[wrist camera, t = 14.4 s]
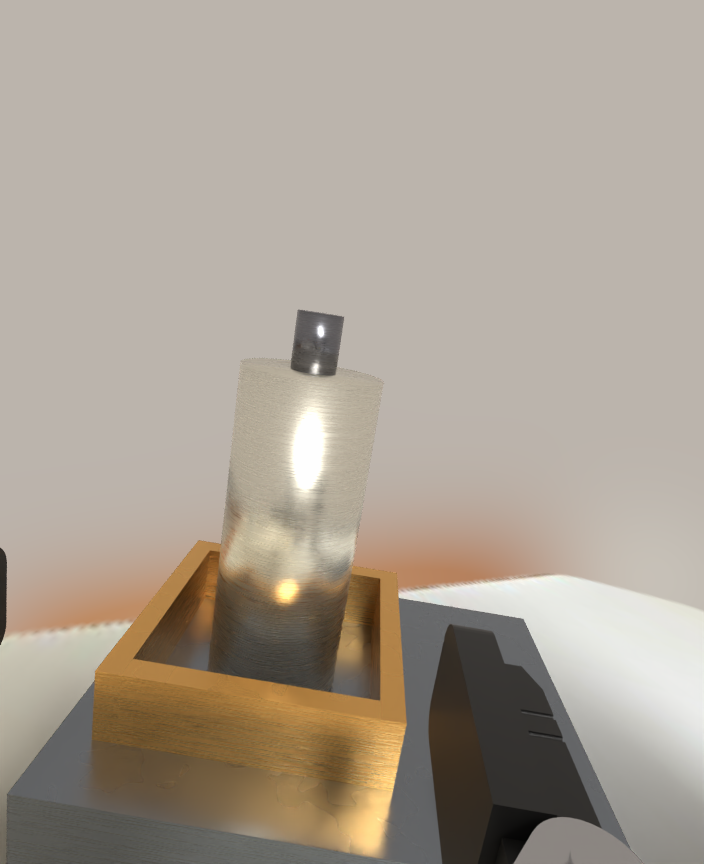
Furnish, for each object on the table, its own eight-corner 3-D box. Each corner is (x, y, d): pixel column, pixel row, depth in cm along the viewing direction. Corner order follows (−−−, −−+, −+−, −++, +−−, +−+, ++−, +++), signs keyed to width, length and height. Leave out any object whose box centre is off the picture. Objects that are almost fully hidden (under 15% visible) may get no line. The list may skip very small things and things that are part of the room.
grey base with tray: (502, 700, 29) (534, 575, 28) (609, 1038, 16) (684, 833, 14) (178, 645, 30) (189, 518, 28) (5, 930, 16) (8, 717, 14)
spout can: (338, 640, 24) (391, 323, 21) (328, 724, 19) (395, 326, 16) (227, 621, 24) (264, 302, 21) (189, 701, 19) (229, 300, 16)
